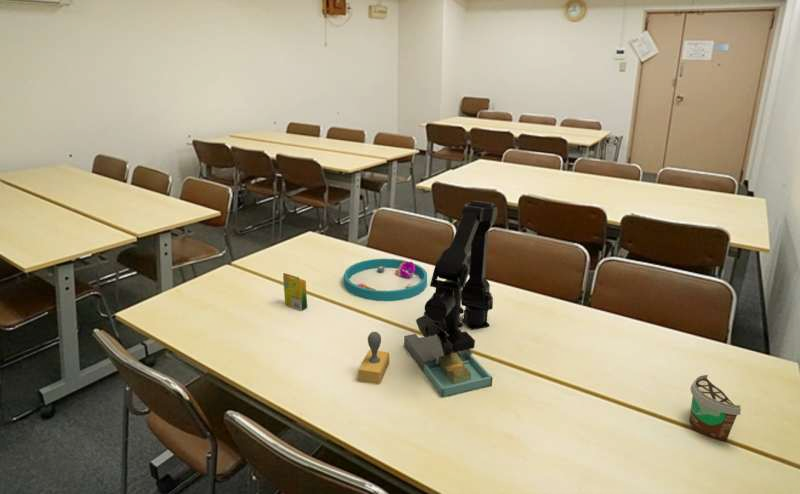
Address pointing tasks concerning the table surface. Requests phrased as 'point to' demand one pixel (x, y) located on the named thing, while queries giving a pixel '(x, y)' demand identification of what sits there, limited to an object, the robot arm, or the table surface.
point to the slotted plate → (429, 350)
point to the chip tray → (447, 388)
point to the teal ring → (381, 265)
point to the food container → (711, 410)
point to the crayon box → (295, 292)
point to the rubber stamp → (374, 361)
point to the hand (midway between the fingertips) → (446, 356)
